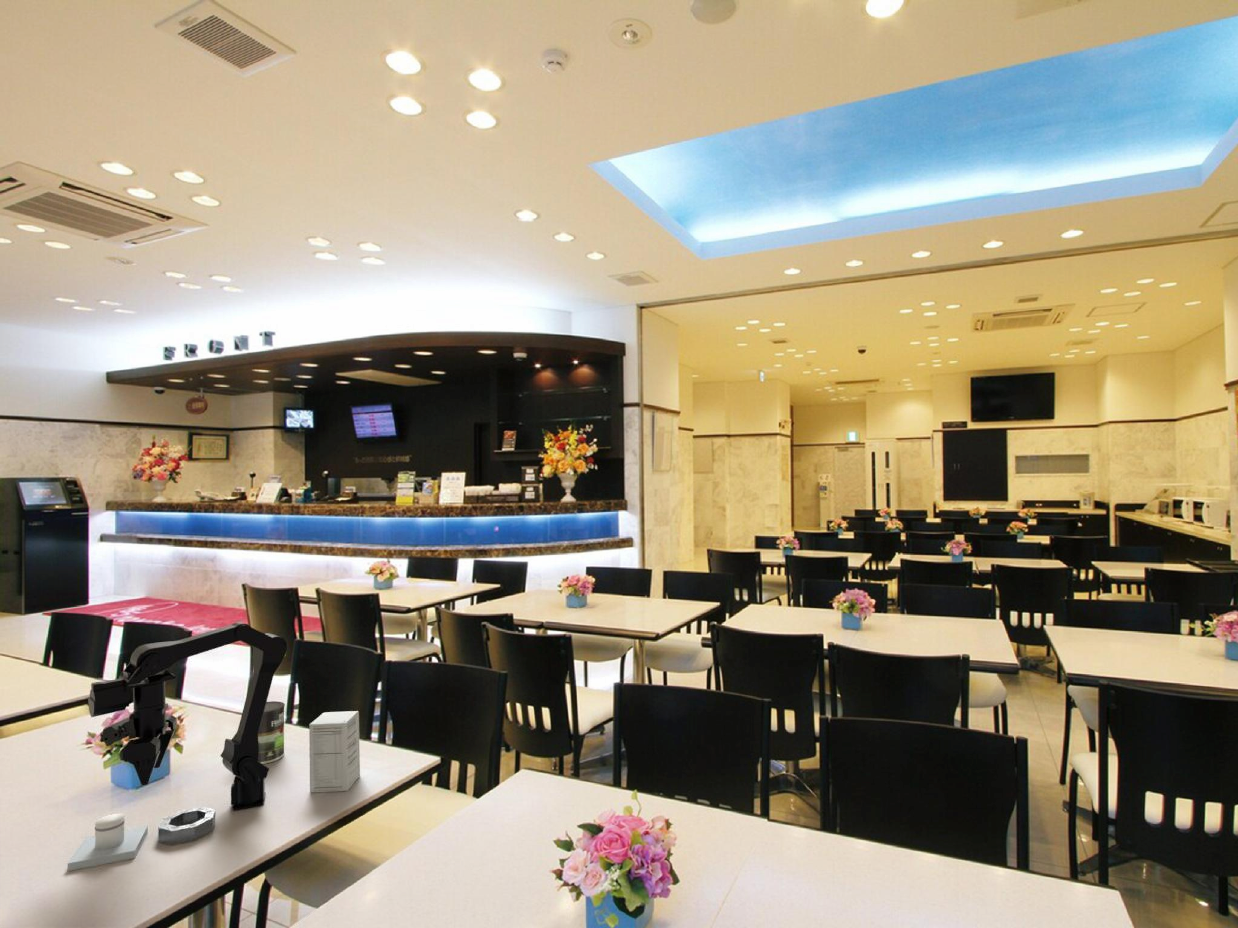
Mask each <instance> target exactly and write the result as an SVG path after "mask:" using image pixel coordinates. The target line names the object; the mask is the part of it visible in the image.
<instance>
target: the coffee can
mask: <svg viewBox="0 0 1238 928" xmlns="http://www.w3.org/2000/svg"><path fill="white" fill-rule="evenodd" d="M285 706H286V705H285V703H284V702H282V701H274V700H273V701H267V702H266V706H265V710H264V713H263V717H262V721H261V725H260V729H259V732H258V741H259V759H258V761H259V762H260V763H262V764H263V765H266V764H270V763H273V762H274V763H275V762H276V761H278V760H280V759H282V758H283V757H284V756H285Z"/></svg>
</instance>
